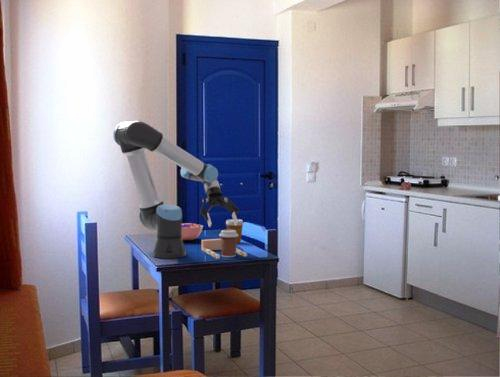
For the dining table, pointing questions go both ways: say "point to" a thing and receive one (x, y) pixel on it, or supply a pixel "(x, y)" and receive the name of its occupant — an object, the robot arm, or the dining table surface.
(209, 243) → the end stop
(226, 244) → the coffee cup
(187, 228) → the cell model
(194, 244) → the dining table surface
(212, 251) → the track rails
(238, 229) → the disposable coffee cup
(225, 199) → the robot arm
